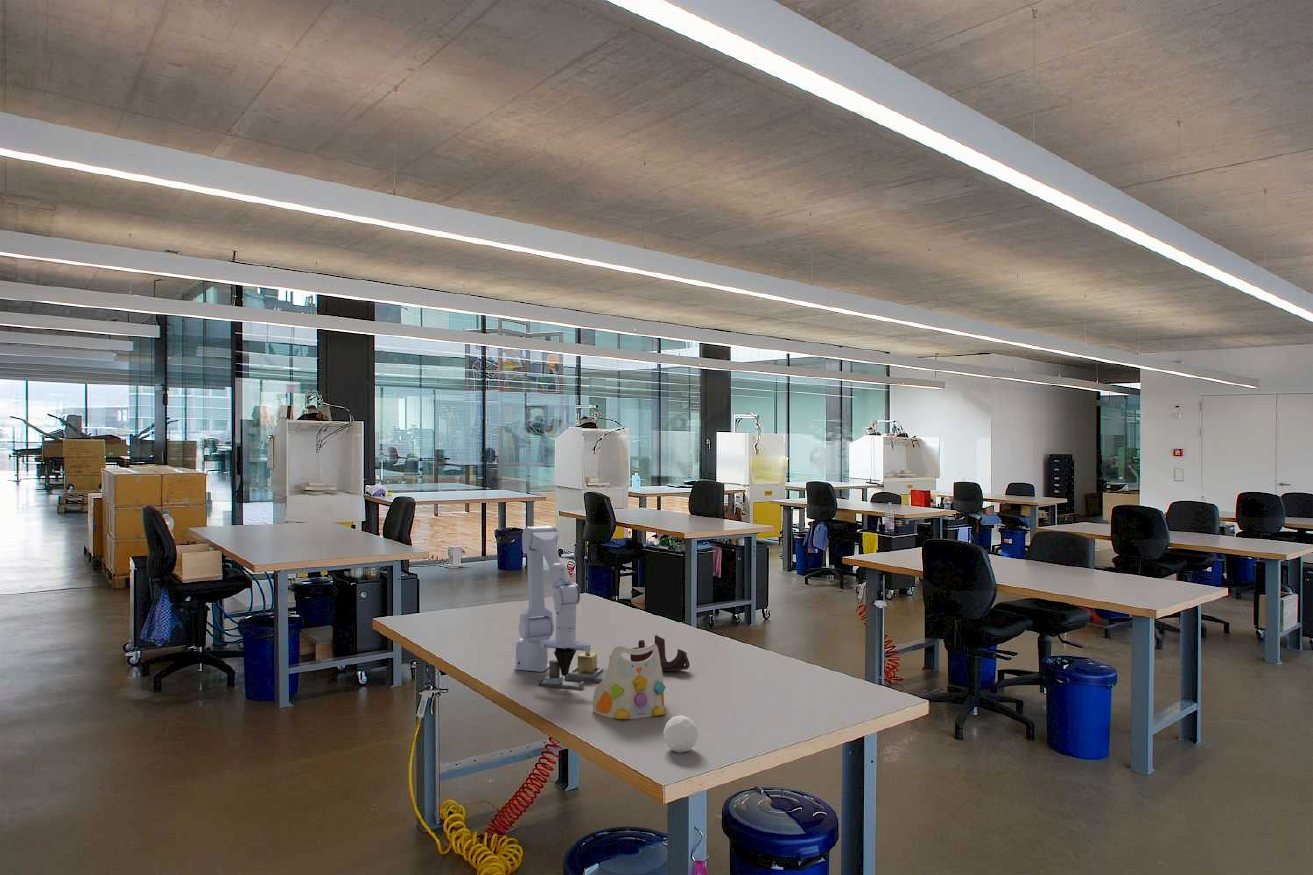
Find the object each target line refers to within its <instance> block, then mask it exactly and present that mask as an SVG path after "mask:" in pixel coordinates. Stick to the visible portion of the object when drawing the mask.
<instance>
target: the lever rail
mask: <svg viewBox="0 0 1313 875" xmlns="http://www.w3.org/2000/svg"><path fill="white" fill-rule="evenodd" d="M538 686H540V687H549V688H558V689H559V688H562V689H573V690H579V689H580V690H582V689H584V688H585V682H583V681H580V683H571V682H564V681H563V682H561V683H560V684H549V683H546V680H544V677H541V678H539V679H538Z"/></svg>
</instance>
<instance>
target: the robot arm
mask: <svg viewBox="0 0 1313 875" xmlns="http://www.w3.org/2000/svg"><path fill="white" fill-rule="evenodd" d="M558 539H559V531H558V529H557V527H556V526H555V525H542V526H541V525H539V526H527V525H526V526H525V527H524V529H523V531H522V534H521V545H522V547H521V548H522V552H523V553H524V554H526V557H527V559H526V560H527V590H528V591H527V593H528V595H527V596H528V607H527V608H526V609H525V610H524V611H523V612H521V613H520V616H519V623H518V632H519V636H520V638H519V639H518V640H517V642H516V646H515V666H514V668H513V669H514V670H516V671H517V670H519V671H528V672H529V671H530V672H539V673H543V672H544V671H546V670H548V669H549V663H548V662H549V661H548V659H549V657H548V656H549V654H548V653H549V649H554V650H555V651H554V652H553V654H554V656H555V658H556V660H558V663H559V666H560V676H563V677H565V676H566V675H568V672H570V667H571V664H572V661H573V658H574V657H575V654H576V653H577V651H582V652H589V651H590V652H591V643H589V642H588V643H587V642H581V641H576V638H577V637H576V634H577V632H576V630H577V629H576V628H577V605H578V604H579V602H580V599H581V591H580V587H579V585H578V584H577V583H576V582H575V581H572V579H571V576H570V572H569V570H568V568H567V566H566V564H563V563H562V562H561V559H560V555H559V551H558V548H557V545H558V541H559V540H558ZM544 561H546V564H547V566H548V567H549V569H548V571H547V575H548V579H549V581H550V584H551V586H552V589H553V591H552V600H553V604H554V605H553V608H554V611H555V622H554V619H553V617H554V616H553V613H552V611H551V610H549V609H548V608H547V607H546V605H545V603H546V602H545V583H544V582H545V580H544V579H545V577H544V576H545V575H544ZM554 632H555V639H551V637H553V635H554Z"/></svg>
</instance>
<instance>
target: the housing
mask: <svg viewBox="0 0 1313 875" xmlns="http://www.w3.org/2000/svg"><path fill="white" fill-rule="evenodd" d="M577 666H578V671H577V673H582V674H594V673H596V672H597V666H598V653H595V652H591V650H590V651H589V652H585V651H582V652H581V653H579V655H577Z"/></svg>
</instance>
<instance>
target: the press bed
mask: <svg viewBox="0 0 1313 875" xmlns="http://www.w3.org/2000/svg"><path fill="white" fill-rule="evenodd" d="M610 656H611V654H610V655H609V657H610ZM609 660H610V658H609ZM577 671H578V665H577V666H575V667H574V668H573V669H571V670H569V672H568V675H566V676H564V680H565V681H575V682H582V681H583V682H584V683H585V682H586V683H594V684H595V683H596V684H600V682H601V681H602V680H603V678H604V676H605V674H606V672H607V669H604V668H603V667H597V672H596V673H594V674H582V673H577Z"/></svg>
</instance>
